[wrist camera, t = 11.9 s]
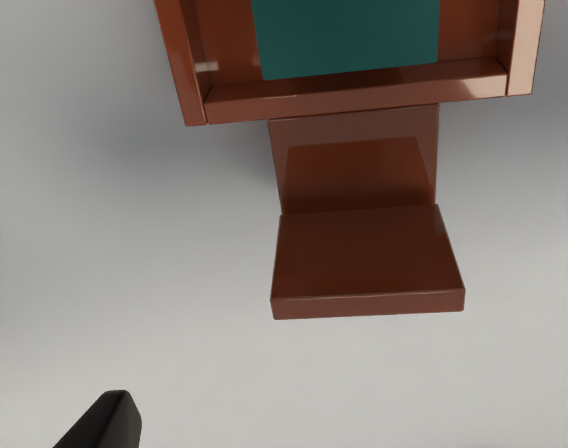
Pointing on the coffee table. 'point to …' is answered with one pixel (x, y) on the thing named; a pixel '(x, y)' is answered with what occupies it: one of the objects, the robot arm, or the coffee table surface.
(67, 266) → the coffee table surface
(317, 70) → the block
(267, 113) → the orange handled tray
